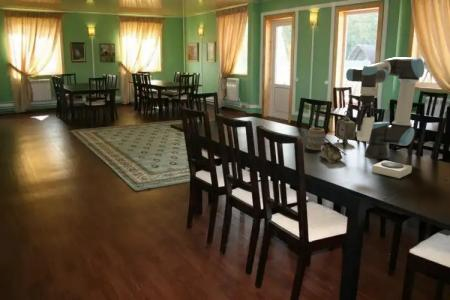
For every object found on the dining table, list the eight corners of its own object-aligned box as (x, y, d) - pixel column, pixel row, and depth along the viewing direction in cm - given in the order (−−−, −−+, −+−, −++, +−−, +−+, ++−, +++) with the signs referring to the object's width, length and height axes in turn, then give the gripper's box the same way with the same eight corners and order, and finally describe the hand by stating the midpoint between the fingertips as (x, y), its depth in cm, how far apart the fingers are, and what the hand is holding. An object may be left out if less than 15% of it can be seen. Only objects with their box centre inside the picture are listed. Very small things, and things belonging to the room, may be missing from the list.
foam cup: (372, 138, 220) (374, 116, 217) (372, 142, 211) (374, 118, 208) (354, 137, 223) (356, 115, 220) (353, 140, 214) (356, 117, 211)
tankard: (326, 150, 277) (327, 129, 273) (308, 150, 277) (309, 129, 273) (320, 144, 296) (321, 124, 293) (303, 143, 296) (304, 124, 293)
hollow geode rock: (325, 160, 269) (310, 144, 267) (339, 147, 266) (325, 131, 265) (332, 170, 241) (317, 152, 240) (349, 157, 239) (333, 139, 237)
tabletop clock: (334, 141, 305) (337, 109, 299) (345, 141, 307) (347, 109, 302) (344, 145, 292) (347, 112, 286) (355, 145, 294) (358, 112, 288)
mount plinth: (371, 171, 226) (372, 164, 225) (384, 166, 237) (384, 159, 236) (399, 178, 215) (400, 170, 214) (411, 172, 226) (412, 165, 225)
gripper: (363, 96, 201) (359, 139, 207) (383, 94, 216) (379, 133, 221) (350, 95, 207) (347, 137, 212) (370, 92, 221) (366, 131, 227)
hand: (363, 135), depth 217 cm, fingers closed on foam cup, 9 cm apart
